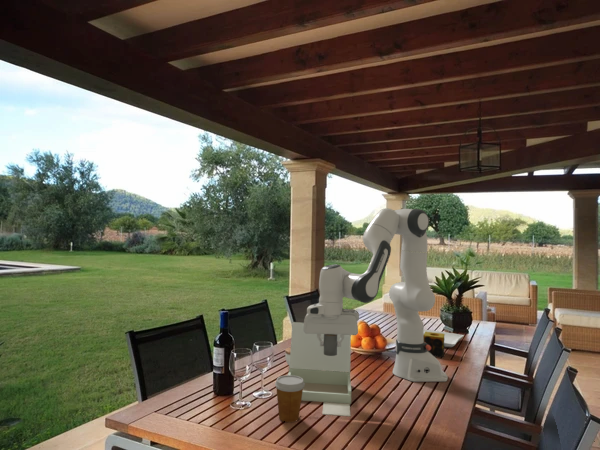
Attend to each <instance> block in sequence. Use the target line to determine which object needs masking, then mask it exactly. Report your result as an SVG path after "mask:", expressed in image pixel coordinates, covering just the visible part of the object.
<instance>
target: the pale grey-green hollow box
mask: <svg viewBox="0 0 600 450" xmlns="http://www.w3.org/2000/svg"><path fill="white" fill-rule="evenodd" d="M303 326H304V322H301V321H300V322H297V321H293V322H292V325H291V337H290V338H291V339H290V347H291V351H290V366H289V365H288V366H289V367H288V373H287V375H294V376H299V377H301V378H302V379H303V381H304V383H305V386H304V388H303V392H302V399H301V401H304V402H305V401H306V402H318V403H319V402H321V403H322V402H323V403H324V402H326V403H340V404H350V405H351V404H352V383H351V380H352V379H351V350H352V349H351V342H352V340H351V339H352V335H344V339H343V341H342V342H341V347H337V355H335V356H327V355H324V346H320V341H319V340H318V338H317V334H306V333H305V332H304V331H303ZM320 338H321V340H324V334H321V337H320ZM340 339H341V337H340V335H337V341H340Z"/></svg>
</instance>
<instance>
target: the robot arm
mask: <svg viewBox="0 0 600 450" xmlns="http://www.w3.org/2000/svg"><path fill="white" fill-rule="evenodd" d="M429 226H430V219H429V216H428V214H427V212H426V211H425V210H423V209H419V208H414V209H413V208H401V209H395V210H394V209H392V208H386V207H385V208H382V209H380V210H379V211H378V212H377V213H376V215H374V216H373V218H372V219H371V221H370V222H369V224H367V227H366V229H365V231H364V232H363V236H362V242H363V244H364V247H365V248H366V249H367V250H368V251H369V252H370V253H372V257H371V260H370V262H369V264H368V267H367V269H366V271H365V272H364V273H353V272H351V271H348V270H346V269H344V268H343V267H342V265H340V264H338V263H337V264H336V263H334V264H328V265H323V267H322V268H321V269H320V272H319V280H318V290H319V297H318V303H314V304H311V305H309V306H308V307H307V308H306V315H305V316H304V320H303V323H304V326H303V331H304V332H305V333H306V334H317V338H318V340H319V341H320V346H324V340H321V338H320V337H321V334H333V335H340V337H341V339H340V341H337V347H341V342H342V341H343V339H344V335H351V336H357V335H358V334H359V325H358V321H359V319H360V314H359V311H357V310H356V309H354V308H352V309H348V308H343V307H344V305H343V304H344V302H343V301H344V299H343V298H346V299H350V300H354V301H355V300H356V301H357V302H361V303H363V304H368V303H370V302H372V301H373V300H374V299H376V297H377V296H378V293H379V290H380V289H379V288H380V283H381V280H382V277H383V275H384V272H385V270H386V268H387V265H388V263H389V259H390V256H391V254H392V247H391V242H392V240H393V238H394V236H395V235H398V236H399V235H400V236H401V235H402V242H401V248H400V249H401V251H400V262H399V263H400V264H399V269H400V271H401V273H402V275H403V278H404V281H400V282H396V283H393V284H392V285H391V286H390V288H389V290H388V296H389V299H390V300H391V302H392V304H393V308H394V313H395V318H396V327H397V328H396V330H397V331H396V340H395V361H394V366H393V368H392V374H393V375H395V377H399V378H401V379H405V380H408V381H409V382H422V383H423V382H427V383H428V382H447V381H448V375H447V373H446V372H445V371H443V369H442V364H441V362H440V361H439V360H438V358H436V356H433V355H432V354H431V353H429V352H428V350H430V348H431V347H430V345H428V344H427V343H425V342H423V336H424V330H425V329H424V327H425V326H424V322H423V319H421V316H420V314H419V312H429V311H430V310H432V309H433V307H434V306H435V303H436V296H435V293H434V292H433V290H432V289H431V287H430V283H429V278H428V271H427V270H428V269H427V268H428V267H427V266H428V265H427V263H428V249H429V248H428V246H429V245H428V235H427V230H428V228H429Z"/></svg>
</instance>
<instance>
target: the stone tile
mask: <svg viewBox="0 0 600 450" xmlns="http://www.w3.org/2000/svg"><path fill="white" fill-rule="evenodd" d="M321 413H322V415H324V416H325V415H326V416H327V415H328V416H336V417H338V416H339V417H340V416H341V417H351V404H347V403H332V402H323V405H322V412H321Z"/></svg>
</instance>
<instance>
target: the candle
mask: <svg viewBox="0 0 600 450" xmlns="http://www.w3.org/2000/svg"><path fill="white" fill-rule="evenodd" d="M444 335H445V334H442V333H434V332H425V333H424V336H423V338H424V342H425V343H427V344H428V345H430V347H431V348H430V350H428V352H429V353H431V354H432V355H433V356H434V357H438V358H444V355H445V347H444V340H445V339H444Z"/></svg>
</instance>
